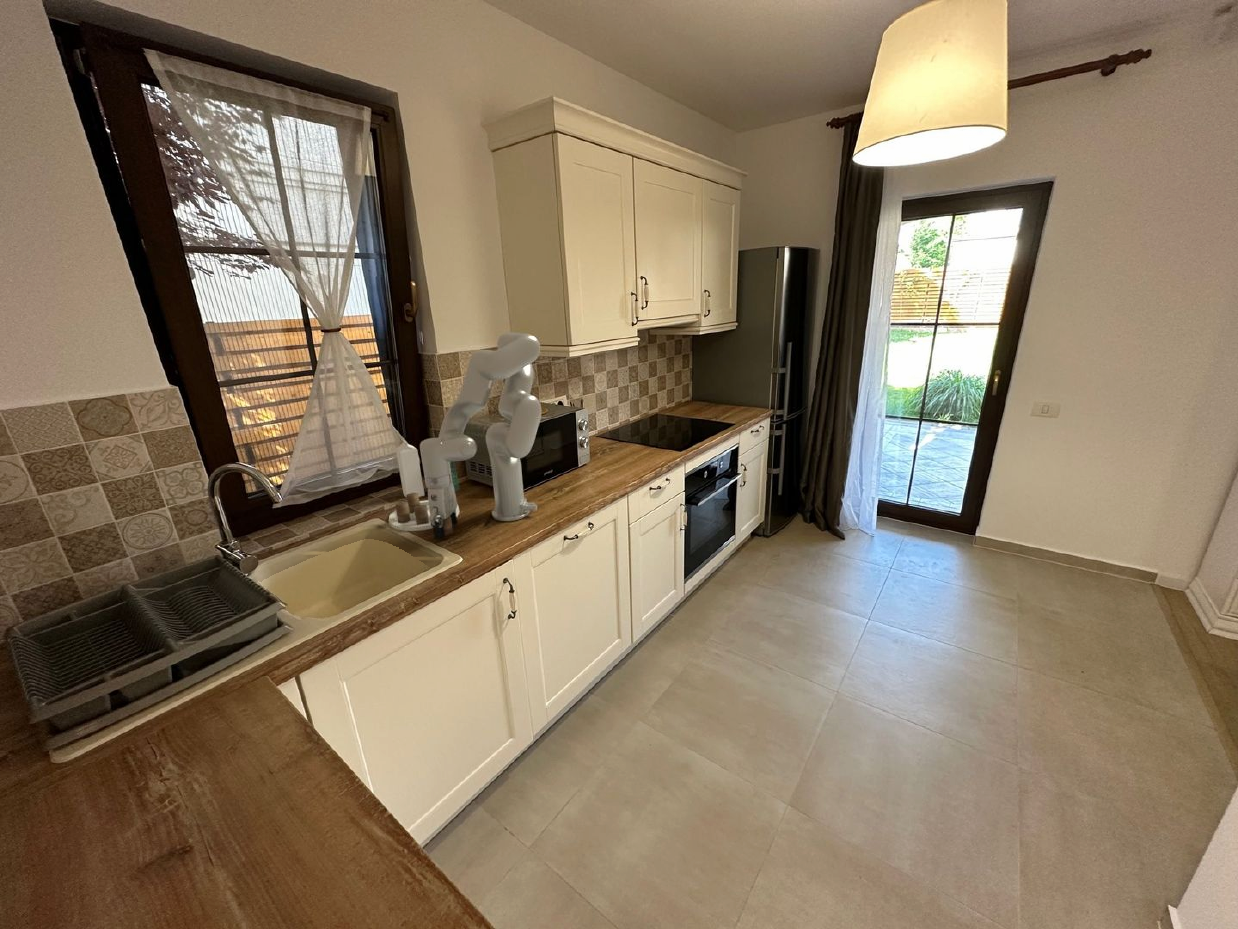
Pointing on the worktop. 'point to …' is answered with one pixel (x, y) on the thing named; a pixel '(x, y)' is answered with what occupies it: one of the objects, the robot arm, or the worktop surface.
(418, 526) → the groove tray
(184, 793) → the worktop surface
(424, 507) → the brown round peg
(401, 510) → the brown round peg
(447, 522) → the tan rounded cylinder
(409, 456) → the milk
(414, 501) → the seated bead
